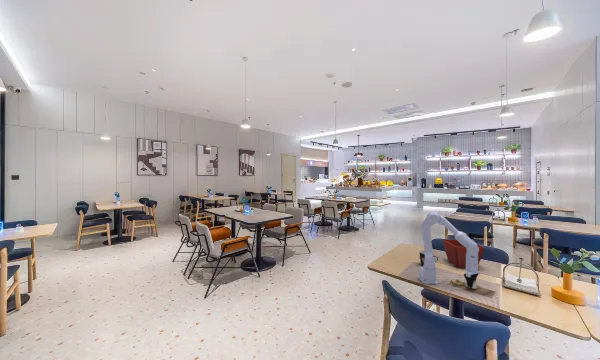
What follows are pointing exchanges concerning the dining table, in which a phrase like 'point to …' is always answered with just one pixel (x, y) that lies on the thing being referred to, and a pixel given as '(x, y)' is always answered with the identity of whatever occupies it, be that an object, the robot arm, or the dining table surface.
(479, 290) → the walnut gear board
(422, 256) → the coffee mug
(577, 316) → the dining table surface
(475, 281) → the cream gear ring
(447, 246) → the plant pot
